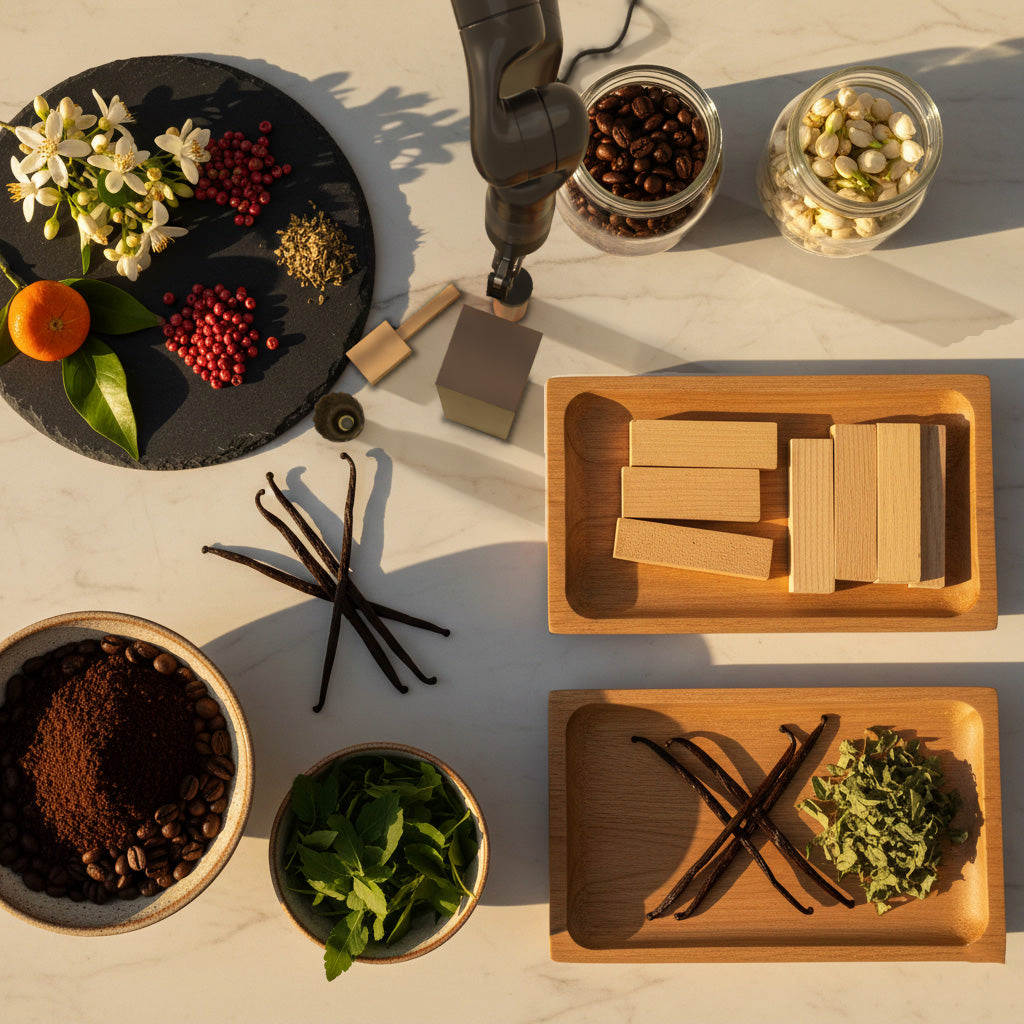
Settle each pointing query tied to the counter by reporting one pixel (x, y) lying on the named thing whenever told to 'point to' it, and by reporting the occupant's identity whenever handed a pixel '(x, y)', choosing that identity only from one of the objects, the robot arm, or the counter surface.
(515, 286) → the jar lid
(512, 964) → the counter surface
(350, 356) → the spatula
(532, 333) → the pedestal
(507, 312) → the spice jar
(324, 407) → the brown funnel
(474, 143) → the robot arm
